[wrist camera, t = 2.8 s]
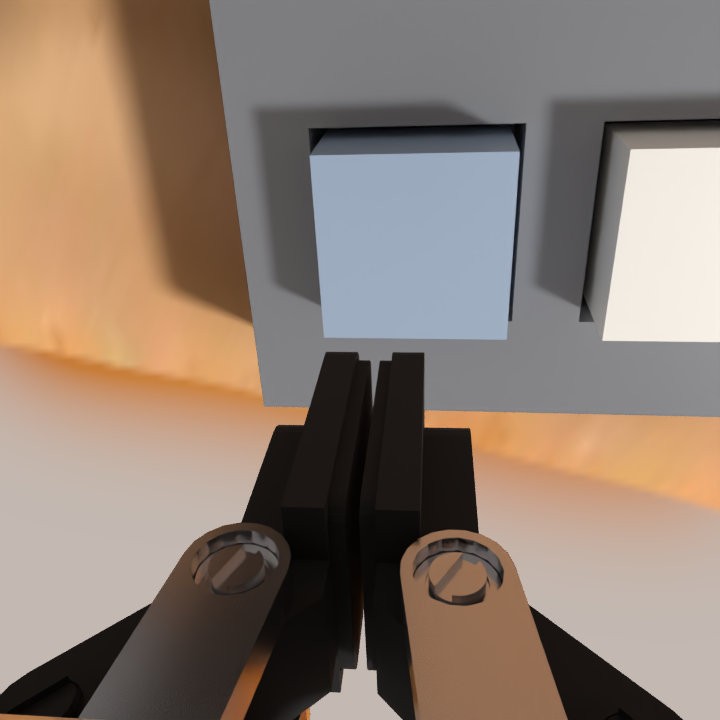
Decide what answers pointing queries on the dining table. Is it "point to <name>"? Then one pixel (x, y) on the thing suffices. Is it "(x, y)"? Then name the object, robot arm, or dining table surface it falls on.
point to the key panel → (465, 108)
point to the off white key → (656, 233)
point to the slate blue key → (415, 231)
